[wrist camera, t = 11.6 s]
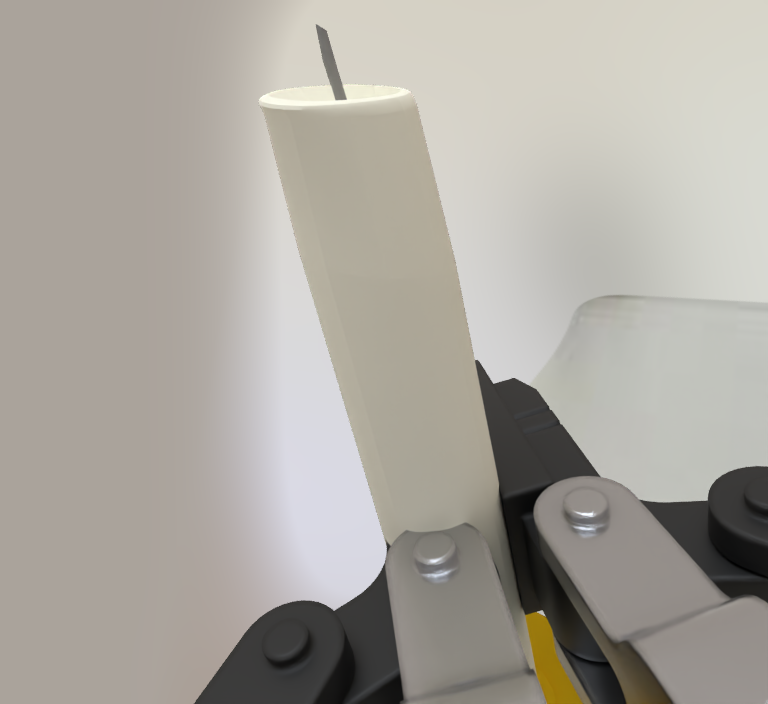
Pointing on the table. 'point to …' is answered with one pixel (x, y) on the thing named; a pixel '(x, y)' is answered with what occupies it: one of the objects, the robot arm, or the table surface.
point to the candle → (396, 319)
